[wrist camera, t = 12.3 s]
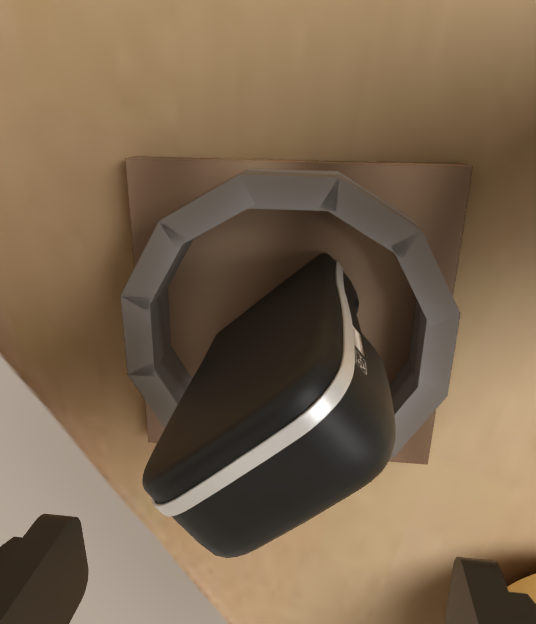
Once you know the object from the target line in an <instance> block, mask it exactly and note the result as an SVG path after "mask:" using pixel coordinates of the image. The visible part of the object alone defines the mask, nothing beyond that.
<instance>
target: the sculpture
mask: <svg viewBox="0 0 536 624" xmlns="http://www.w3.org/2000/svg"><path fill="white" fill-rule="evenodd" d="M507 588H508V591H509V592H516V593H525V594H528V595H529V596H530V597H531V599H532V600H533V601H534V602H535V603H536V574H533V575H530V576H527V577H525V578H523V579H520V580H518V581H516V582H514V583H513V584H511V585H509V586H508V587H507Z"/></svg>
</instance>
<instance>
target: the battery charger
mask: <svg viewBox="0 0 536 624" xmlns="http://www.w3.org/2000/svg"><path fill="white" fill-rule="evenodd" d="M358 308H359V300H358V296H357V292H356V290H355V288H354V286H353V284H352V282H351V280H350V279H349V278H348V277H347V275H346V274H345V273H344V272H343V267H342V266H341V265H340V263H339V262H338V261H337V260H336V261H334V259H333V258H332V257H331V256H330V255H329V254H327V253H321V254H319V255H318V256H316V257H315V258H314V259H313V260H311V261H310V262H309V263H307V264H306V265H305V266H303V267H302V268H301V269H299V270H298V271H297V272H296V273H294V274H293V275H292V276H290V277H289V278H288V279H286V280H285V281H284V282H283V283H281V284H280V285H279V286H277V287H276V288H275V289H273V290H272V291H271V292H270V293H268V294H267V295H266V296H264V297H263V298H262V299H261V300H259V301H258V302H257V303H255V304H254V305H253V306H252V307H250V308H249V309H248V310H246V311H245V312H244V313H243V314H241V315H240V316H239V317H238V318H236V319H235V320H234V321H232V322H231V323H230V324H229V325H227V326H226V327H225V328H224V329H222V330H221V331H220V332H218V333H217V334H216V336H215V338H214V340H213V342H212V343H211V345H210V347H209V349H208V351H207V353H206V355H205V357H204V359H203V361H202V363H201V365H200V366H199V368H198V370H197V371H196V373H195V375H194V377H193V378H192V380H191V382H190V384H189V385H188V387H187V389H186V391H185V392H184V394H183V396H182V398H181V399H180V401H179V403H178V405H177V407H176V409H175V410H174V412H173V414H172V416H171V418H170V420H169V421H168V423H167V425H166V427H165V429H164V431H163V433H162V435H161V437H160V439H159V441H158V443H157V445H156V447H155V449H154V451H153V453H152V455H151V457H150V459H149V461H148V463H147V466H146V468H145V470H144V474H143V487H144V489H145V491H146V492H147V493H148V494H149V495H150V496H151V497H152V503H153V505H154V506H155V507H156V508H157V509H158V510H159V511H160V512H161V513H162V514H163V515H165V516H172V517H173V518H174V519H175V520H176V521H177V522H178V523H179V524H180V525H181V526H182V527H183V528H184V529H185V530H186V531H187V532H188V533H189V534H190V535H191V536H192V537H193V538H194V539H195V540H196V541H197V542H199V543H200V544H201V545H202V546H204V547H205V548H206V549H208V550H209V551H210V552H212V553H213V554H214V555H216V556H221V557H225V558H230V557H238V556H241V555H245V554H247V553H249V552H251V551H254V550H256V549H258V548H259V547H261V546H263V545H265V544H267V543H268V542H270V541H272V540H274V539H276V538H277V537H279V536H281V535H283V534H285V533H286V532H288V531H290V530H292V529H294V528H295V527H297V526H299V525H301V524H303V523H304V522H306V521H308V520H309V519H311V518H313V517H314V516H316V515H318V514H320V513H321V512H323V511H325V510H326V509H328V508H330V507H331V506H333V505H335V504H336V503H338V502H340V501H341V500H343V499H345V498H346V497H348V496H350V495H351V494H353V493H355V492H356V491H358V490H359V489H361V488H362V487H364V486H365V485H367V484H368V483H370V482H371V481H372V480H373V479H374V478H375V477H376V476H377V475H378V474H380V473H381V472H382V470H383V469H384V468H385V466H386V465H387V463H388V462H389V460H390V457H391V454H392V451H393V447H394V444H395V437H396V424H395V416H394V409H393V402H392V397H391V391H390V386H389V382H388V378H387V374H386V371H385V367H384V363H383V360H382V359H381V357H380V356H379V354H378V353H377V351H376V350H375V348H374V347H373V346H372V345H371V343H370V342H369V341H368V340H367V338H366V337H365V336H364V335H363V334H362V332H361V329H360V325H359V322H358V318H357V312H358Z"/></svg>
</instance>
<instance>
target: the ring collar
mask: <svg viewBox="0 0 536 624" xmlns="http://www.w3.org/2000/svg"><path fill="white" fill-rule="evenodd" d="M125 160H126V172H127V184H128V197H129V209H130V221H131V234H132V246H133V258H134V271H133V273H132V275H131V276H130V278H129V280H128V282H127V284H126V286H125V288H124V290H123V292H122V294H121V307H122V317H123V328H124V339H125V350H126V361H127V371H128V376H129V377H130V379H131V380H132V382H133V383H134V384H135V386H136V387H137V389H138V390H139V392H140V393H141V395H142V396H143V398H144V399H145V406H146V418H147V431H148V442H153V443H158V441H159V439H160V437H161V435H162V433H163V431H164V429H165V427H166V425H167V423H168V421H169V420H170V418H171V416H172V414H173V412H174V410H175V409H176V407H177V405H178V403H179V401H180V399H181V398H182V396H183V394H184V392H185V391H186V389H187V387H188V385H189V384H190V382H191V380H192V378H193V377H194V375H195V373H196V371H197V370H198V368H199V366H200V365H201V363H202V361H203V359H204V357H205V355H206V353H207V351H208V349H209V347H210V345H211V343H212V342H213V340H214V338H215V336H216V334H217V333H218V332H220V331H221V330H222V329H224V328H225V327H226V326H227V325H229V324H230V323H231V322H232V321H234V320H235V319H236V318H238V317H239V316H240V315H241V314H243V313H244V312H245V311H246V310H248V309H249V308H250V307H252V306H253V305H254V304H255V303H257V302H258V301H259V300H261V299H262V298H263V297H264V296H266V295H267V294H268V293H270V292H271V291H272V290H273V289H275V288H276V287H277V286H279V285H280V284H281V283H283V282H284V281H285V280H286V279H288V278H289V277H290V276H292V275H293V274H294V273H296V272H297V271H298V270H299V269H301V268H302V267H303V266H305V265H306V264H307V263H309V262H310V261H311V260H313V259H314V258H315V257H316V256H318V255H319V254H321V253H327V254H329V255H330V256H331V257H332V258H333V259H334V261H336V260H337V261H338V262H339V263H340V265H341V266H342V267H343V272H344V273H345V274H346V275H347V277H348V278H349V279H350V280H351V282H352V284H353V286H354V288H355V290H356V292H357V296H358V300H359V308H358V312H357V318H358V322H359V325H360V329H361V332H362V334H363V335H364V336H365V337H366V338H367V340H368V341H369V342H370V343H371V345H372V346H373V347H374V348H375V350H376V351H377V353H378V354H379V356H380V357H381V359H382V360H383V363H384V367H385V371H386V374H387V378H388V382H389V386H390V391H391V397H392V402H393V409H394V416H395V424H396V437H395V444H394V447H393V451H392V454H391V457H390V460H389V461H390V462H402V463H415V464H427V465H428V459H429V452H430V446H431V439H432V432H433V426H434V419H435V412H436V408H437V407H438V406H439V405H440V404H441V403H442V402H443V400H444V399H445V398H446V397H447V395H448V388H449V382H450V376H451V369H452V363H453V357H454V350H455V344H456V338H457V331H458V325H459V319H460V312H459V309H458V307H457V305H456V303H455V301H454V299H453V293H454V286H455V280H456V273H457V266H458V260H459V253H460V247H461V240H462V233H463V227H464V220H465V213H466V207H467V200H468V193H469V187H470V180H471V174H472V167H473V166H470V165H467V164H431V163H388V162H344V161H301V160H258V159H215V158H172V157H129V158H125Z"/></svg>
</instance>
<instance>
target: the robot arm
mask: <svg viewBox="0 0 536 624" xmlns="http://www.w3.org/2000/svg"><path fill="white" fill-rule="evenodd" d="M87 581H88V564H87V558H86V551H85V545H84V539H83V533H82V527H81V522H80V520H79V518H77V517H71V516H61V515H51V514H43V515H41V516H40V517H38V519H37V520H36V521H35V522H34V523H33V525H32V526H31V527H30V529H29V530H28V531H27V533H26V534H25V535H24V537H23V538H21V537H13V538H12V539H10V540H9V541H7V542H6V543H5V544H3V545H2V546H1V547H0V624H69V623H70V621H71V619H72V617H73V615H74V613H75V611H76V609H77V607H78V606H79V604H80V602H81V600H82V598H83V595H84V593H85V590H86V585H87ZM445 624H536V603H535V602H534V601H533V600H532V599H531V597H530V596H529V595H528V594H525V593H516V592H509V591H508V588H507V586H506V583H505V580H504V577H503V575H502V572H501V569H500V567H499V565H498V563H497V562H496V561H492V560H482V559H472V558H462V557H456V559H455V561H454V566H453V572H452V578H451V583H450V589H449V595H448V601H447V607H446V616H445Z"/></svg>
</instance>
